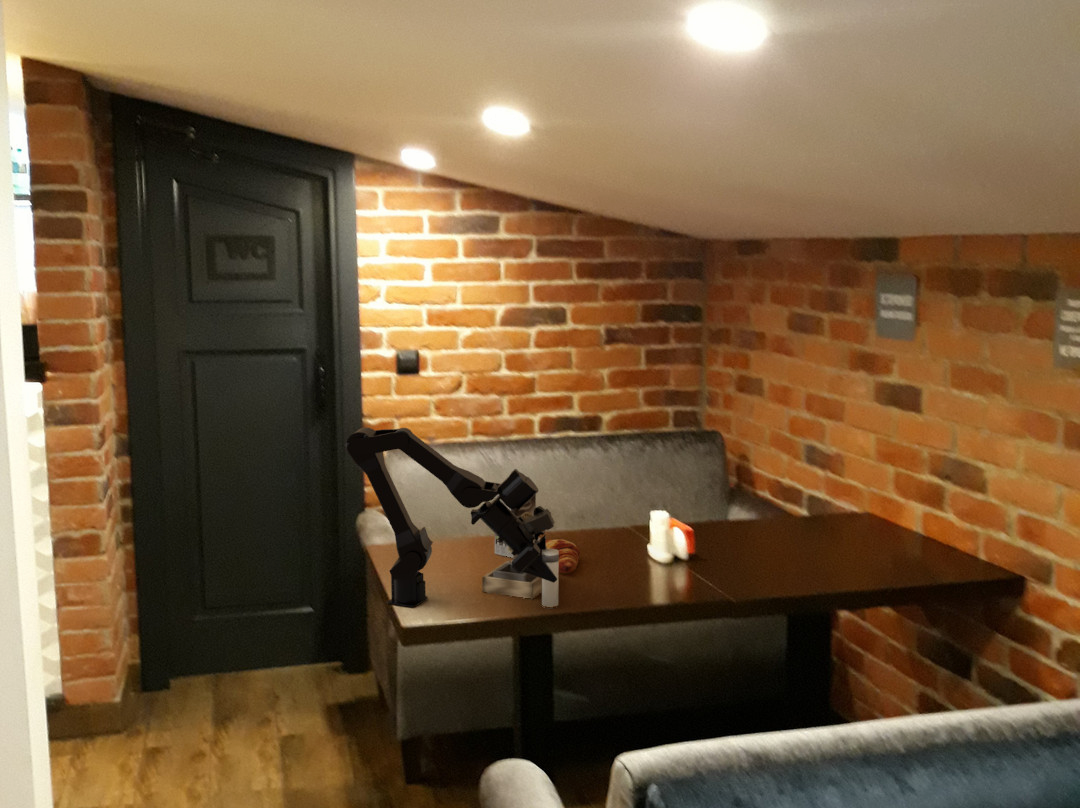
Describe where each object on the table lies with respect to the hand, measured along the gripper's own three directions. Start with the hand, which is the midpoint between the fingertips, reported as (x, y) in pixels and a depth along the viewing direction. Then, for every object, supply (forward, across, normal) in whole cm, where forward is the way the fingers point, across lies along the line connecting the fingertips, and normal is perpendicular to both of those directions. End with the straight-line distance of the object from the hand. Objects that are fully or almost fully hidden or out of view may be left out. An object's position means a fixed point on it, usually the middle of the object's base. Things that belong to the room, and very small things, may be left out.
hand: (556, 575), depth 227 cm
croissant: (+4, +29, +6) cm, 30 cm away
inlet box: (-2, +12, +11) cm, 16 cm away
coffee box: (-4, +39, +14) cm, 41 cm away
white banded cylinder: (+4, 0, +6) cm, 7 cm away
